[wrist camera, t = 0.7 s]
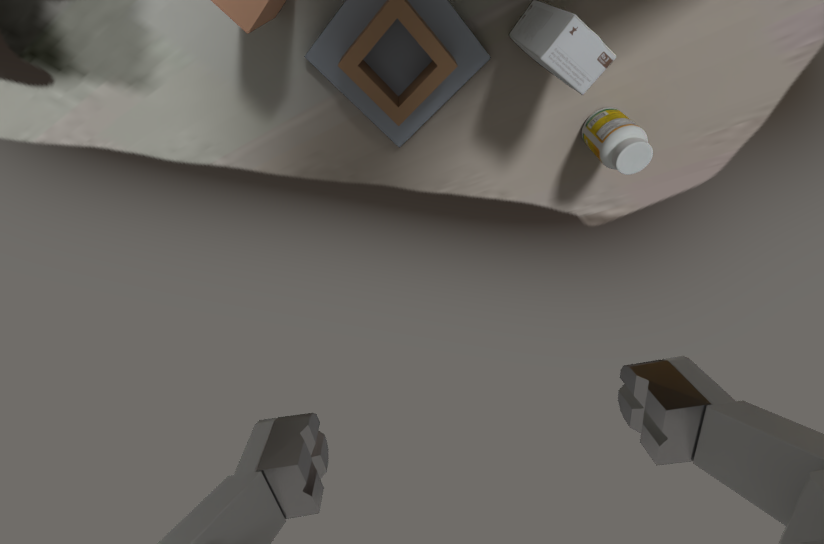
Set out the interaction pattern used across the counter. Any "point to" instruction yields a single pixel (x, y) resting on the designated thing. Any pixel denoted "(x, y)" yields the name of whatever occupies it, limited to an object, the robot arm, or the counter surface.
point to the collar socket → (397, 59)
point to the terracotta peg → (250, 11)
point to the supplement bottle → (617, 141)
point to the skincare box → (562, 45)
